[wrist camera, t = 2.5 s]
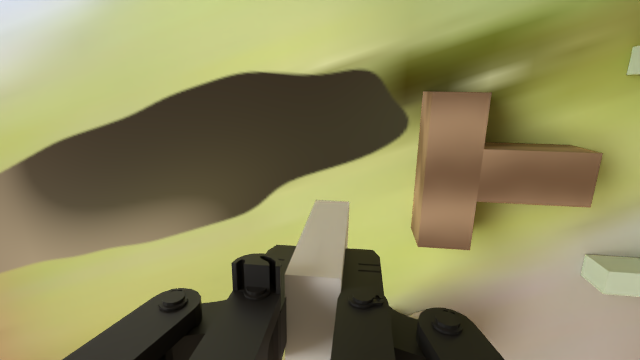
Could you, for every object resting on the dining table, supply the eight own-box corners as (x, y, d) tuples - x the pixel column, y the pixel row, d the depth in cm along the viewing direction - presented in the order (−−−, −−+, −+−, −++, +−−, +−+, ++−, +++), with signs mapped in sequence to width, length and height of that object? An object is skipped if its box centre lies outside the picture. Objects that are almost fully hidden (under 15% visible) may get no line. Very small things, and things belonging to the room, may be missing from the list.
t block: (423, 91, 28) (432, 91, 25) (579, 94, 27) (615, 94, 23) (410, 227, 31) (417, 246, 28) (551, 236, 30) (579, 257, 26)
